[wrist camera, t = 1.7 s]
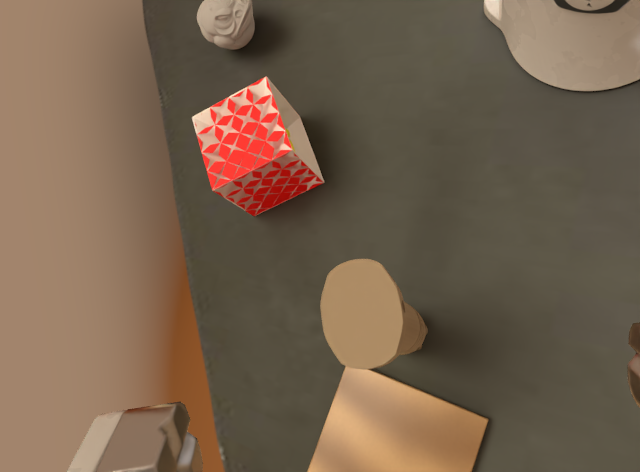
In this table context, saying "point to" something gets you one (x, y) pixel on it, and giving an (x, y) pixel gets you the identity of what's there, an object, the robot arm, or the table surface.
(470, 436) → the oak board
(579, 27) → the robot arm
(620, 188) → the table surface
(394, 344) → the handle
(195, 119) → the red and white cube
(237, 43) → the frog figurine
